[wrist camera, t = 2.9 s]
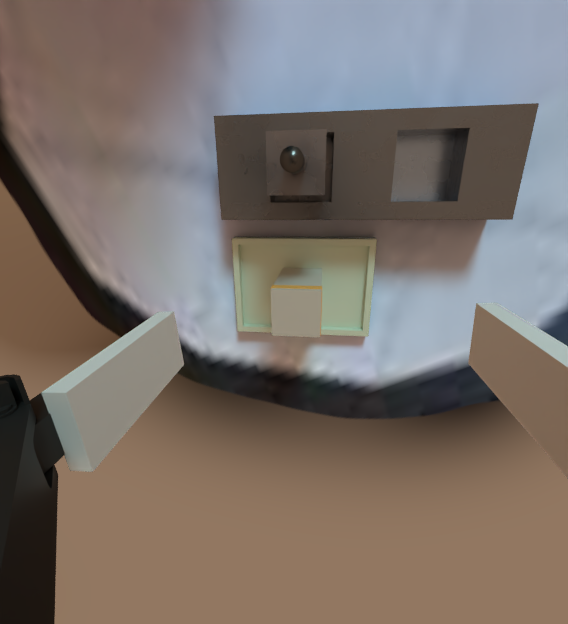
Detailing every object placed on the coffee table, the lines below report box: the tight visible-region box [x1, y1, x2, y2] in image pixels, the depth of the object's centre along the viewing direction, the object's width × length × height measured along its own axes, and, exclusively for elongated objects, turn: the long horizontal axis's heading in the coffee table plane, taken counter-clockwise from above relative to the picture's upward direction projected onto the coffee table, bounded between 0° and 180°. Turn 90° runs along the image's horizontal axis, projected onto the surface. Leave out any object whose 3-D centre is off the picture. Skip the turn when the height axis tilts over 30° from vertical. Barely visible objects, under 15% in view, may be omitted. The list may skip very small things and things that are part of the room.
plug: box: [271, 268, 322, 338], centre depth 30 cm, size 4×4×8 cm
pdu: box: [214, 103, 539, 220], centre depth 24 cm, size 24×8×12 cm, turn 90°
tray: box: [232, 237, 377, 336], centre depth 33 cm, size 14×10×1 cm
